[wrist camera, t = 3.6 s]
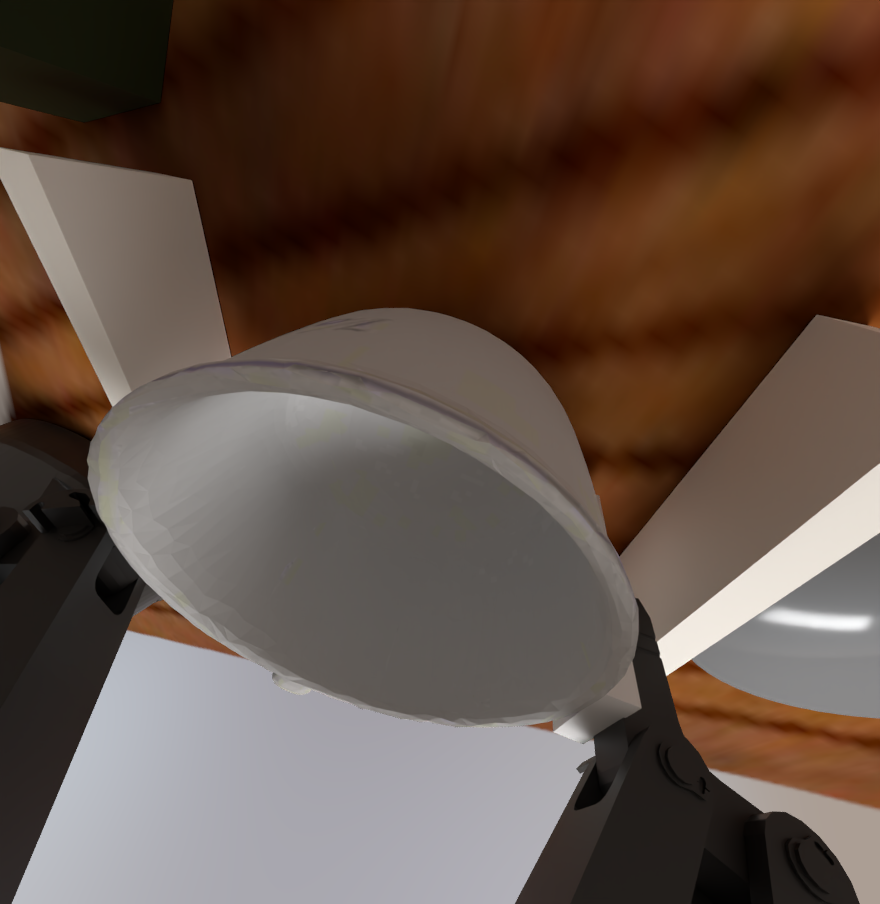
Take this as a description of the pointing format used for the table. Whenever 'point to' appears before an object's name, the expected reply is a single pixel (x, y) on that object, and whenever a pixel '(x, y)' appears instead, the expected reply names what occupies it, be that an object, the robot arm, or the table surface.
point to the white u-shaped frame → (667, 532)
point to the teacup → (376, 520)
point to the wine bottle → (83, 55)
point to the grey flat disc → (812, 642)
